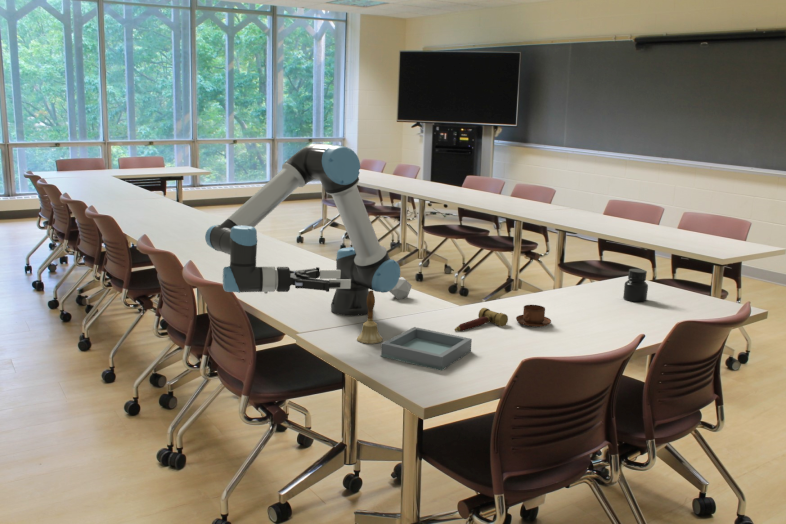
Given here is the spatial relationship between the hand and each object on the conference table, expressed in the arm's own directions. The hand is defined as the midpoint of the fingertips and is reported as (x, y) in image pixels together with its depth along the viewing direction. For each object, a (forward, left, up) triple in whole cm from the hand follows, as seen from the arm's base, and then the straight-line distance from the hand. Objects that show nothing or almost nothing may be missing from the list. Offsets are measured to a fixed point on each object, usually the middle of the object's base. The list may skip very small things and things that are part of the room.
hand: (345, 278), depth 218 cm
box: (-5, +27, -20) cm, 34 cm away
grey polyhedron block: (-56, -12, -20) cm, 61 cm away
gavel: (-40, +27, -21) cm, 53 cm away
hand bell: (-6, +6, -20) cm, 22 cm away
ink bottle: (-111, +65, -20) cm, 130 cm away
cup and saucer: (-54, +43, -20) cm, 72 cm away
